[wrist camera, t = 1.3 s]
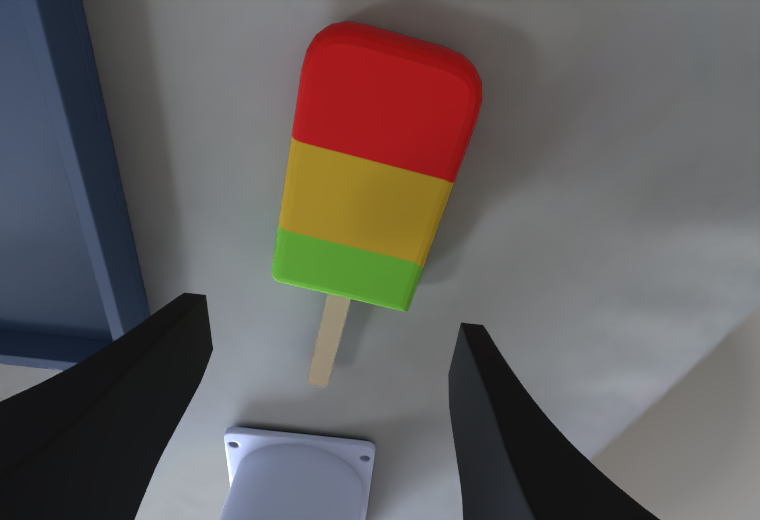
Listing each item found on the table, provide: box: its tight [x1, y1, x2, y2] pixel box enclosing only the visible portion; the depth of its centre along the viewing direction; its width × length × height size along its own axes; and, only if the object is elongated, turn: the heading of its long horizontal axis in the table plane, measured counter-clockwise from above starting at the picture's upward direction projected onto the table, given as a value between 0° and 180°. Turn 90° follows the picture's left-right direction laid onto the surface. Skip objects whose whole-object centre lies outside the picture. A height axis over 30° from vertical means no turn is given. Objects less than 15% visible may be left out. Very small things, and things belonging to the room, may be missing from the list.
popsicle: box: [272, 21, 482, 386], centre depth 17 cm, size 6×15×2 cm, turn 166°
